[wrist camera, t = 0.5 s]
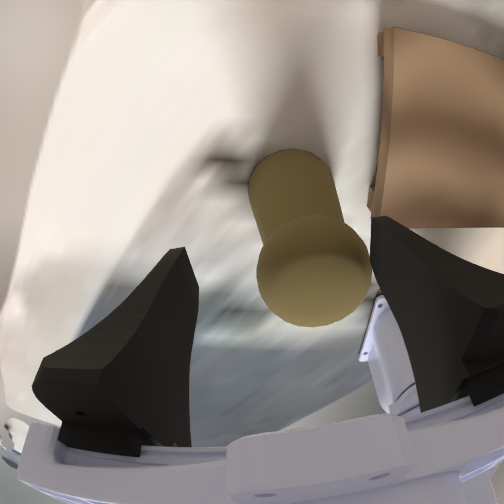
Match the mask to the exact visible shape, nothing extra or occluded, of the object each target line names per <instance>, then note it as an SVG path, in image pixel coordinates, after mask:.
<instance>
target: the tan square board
mask: <svg viewBox="0 0 504 504" xmlns="http://www.w3.org/2000/svg"><path fill="white" fill-rule="evenodd" d="M378 56H381V57H384V75H383V101H382V118H381V132H380V144H379V155H378V165H377V174H376V183H375V186H370V187H369V195H368V203H367V207H368V208H369V210H370V211H371V218H372V217H379V216H388V217H390V218H392V219H393V220H395V221H397V222H398V223H400V224H402V225H403V226H405V227H406V228H480V227H504V60H503V59H500V58H498V57H495V56H493V55H490V54H487V53H485V52H482V51H479V50H476V49H473V48H470V47H467V46H464V45H461V44H458V43H455V42H451V41H448V40H445V39H441V38H437V37H434V36H430V35H426V34H422V33H418V32H413V31H409V30H404V29H399V28H394V27H393V28H386V29H384V33H379V34H378Z"/></svg>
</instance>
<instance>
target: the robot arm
mask: <svg viewBox="0 0 504 504" xmlns="http://www.w3.org/2000/svg"><path fill="white" fill-rule="evenodd" d="M370 263H371V266H372V269H373V272H374V275H375V278H376V280H377V283H378V285H379V287H380V289H381V291H382V293H383V295H380V296H378V297H377V298H376V300H375V304H374V307H373V311H372V314H371V318H370V322H369V325H368V328H367V332H366V335H365V338H364V342H363V345H362V348H361V351H360V354H359V361H361V362H363V361H368V364H369V367H370V370H371V374H372V377H373V381H374V384H375V388H376V392H377V395H378V399H379V402H380V404H381V406H382V407H383V409H384V410H385V411H386V412H387V413H385V414H378V415H370V416H365V417H361V418H356V419H352V420H346V421H341V422H336V423H331V424H325V425H319V426H313V427H307V428H300V429H293V430H285V431H276V432H267V433H260V434H255V435H249V436H244V437H241V438H239V439H237V440H235V441H233V442H231V443H230V444H229V445H227V447H192V446H191V434H190V415H189V372H190V358H191V351H192V345H193V339H194V333H195V327H196V321H197V314H198V305H199V286H198V283H197V280H196V278H195V275H194V272H193V269H192V266H191V263H190V261H189V258H188V255H187V252H186V249H185V247H181V248H175V249H170V250H169V251H168V252H167V253H166V254H165V255H164V256H163V258H162V259H161V260H160V261H159V262H158V263H157V265H156V266H155V267H154V268H153V269H152V270H151V272H150V273H149V274H148V275H147V276H146V277H145V279H144V280H143V281H142V282H141V283H140V284H139V285H138V286H137V287H136V289H135V290H134V291H133V292H132V293H131V294H130V295H129V296H128V297H127V298H126V299H125V300H124V301H123V302H122V303H121V304H120V305H119V306H118V307H117V308H116V309H115V310H114V311H112V312H111V313H110V314H109V315H108V316H107V317H106V318H104V319H103V320H102V321H100V322H99V323H98V324H97V325H95V326H94V327H93V328H92V329H90V330H89V331H88V332H86V333H85V334H83V335H82V336H80V337H79V338H77V339H76V340H74V341H73V342H71V343H70V344H68V345H66V346H65V347H63V348H61V349H59V350H57V351H55V352H54V353H52V354H50V355H48V356H46V357H44V358H43V360H42V362H41V365H40V367H39V370H38V372H37V374H36V377H35V379H34V382H33V385H32V390H33V393H34V394H35V396H36V398H37V399H38V400H39V401H40V402H41V403H42V404H43V405H44V406H45V407H46V408H47V409H49V410H50V411H51V412H52V413H53V414H54V415H55V416H57V417H58V418H59V419H60V420H61V421H62V425H61V428H58V427H56V426H54V425H50V424H44V423H40V422H35V421H32V422H31V424H30V427H29V431H28V434H27V437H26V440H25V444H24V447H23V450H22V454H21V458H20V461H19V465H18V469H17V473H16V478H17V479H18V480H20V481H22V482H24V483H25V484H27V485H29V486H31V487H33V488H35V489H37V490H39V491H41V492H43V493H45V494H47V495H49V496H51V497H53V498H56V499H58V500H60V501H63V502H67V503H69V504H498V501H497V497H496V494H495V490H494V487H493V484H492V480H491V478H492V476H493V474H494V473H495V471H496V470H497V468H498V466H499V465H500V463H501V462H502V461H504V274H502V273H498V272H495V271H492V270H489V269H486V268H483V267H481V266H478V265H476V264H473V263H471V262H468V261H466V260H464V259H462V258H460V257H457V256H455V255H453V254H451V253H449V252H447V251H445V250H443V249H442V248H440V247H438V246H436V245H435V244H433V243H431V242H429V241H428V240H426V239H424V238H423V237H421V236H419V235H418V234H416V233H414V232H413V231H411V230H410V229H408V228H406V227H405V226H403V225H402V224H400V223H398V222H397V221H395V220H393V219H392V218H390V217H388V216H379V217H372V218H371V243H370ZM379 304H380V305H379Z"/></svg>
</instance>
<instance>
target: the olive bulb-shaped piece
mask: <svg viewBox="0 0 504 504" xmlns="http://www.w3.org/2000/svg"><path fill="white" fill-rule="evenodd" d="M248 194H249V200H250V204H251V207H252V210H253V214H254V217H255V220H256V223H257V226H258V229H259V232H260V236H261V239H262V242H263V245H264V246H263V247H262V250H261V252H260V255H259V260H258V264H257V282H258V287H259V292H260V294H261V296H262V299H263V300H264V302H265V303H266V305H267V306H268V308H269V309H270V310H271V311H272V312H273V313H275V314H276V315H277V316H279V317H280V318H281V319H283V320H284V321H286V322H288V323H291V324H294V325H297V326H304V327H318V326H325V325H329V324H332V323H334V322H337V321H340V320H342V319H343V318H345V317H346V316H348V315H349V314H351V313H352V312H354V310H355V309H356V308H357V307H358V306H359V305H360V304H361V303H362V302H363V299H364V297H365V295H366V293H367V291H368V289H369V286H370V284H371V275H372V266H371V263H370V256H369V253H368V250H367V247H366V245H365V243H364V242H363V240H362V239H361V238H360V237H359V235H358V234H357V233H356V232H355V231H354V230H353V229H352V228H351V227H350V226H348V225H347V224H345V223H344V219H343V215H342V211H341V207H340V203H339V199H338V195H337V192H336V188H335V184H334V181H333V178H332V175H331V173H330V170H329V168H328V167H327V166H326V165H325V163H324V162H323V161H322V160H321V159H320V158H319V157H317V156H315V155H313V154H311V153H310V152H308V151H303V150H297V149H289V150H281V151H278V152H276V153H273V154H271V155H269V156H267V157H266V158H265V159H264V160H262V161H261V162H260V163H259V164H258V165H257V166H256V168H255V169H254V171H253V173H252V175H251V177H250V180H249V186H248Z"/></svg>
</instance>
